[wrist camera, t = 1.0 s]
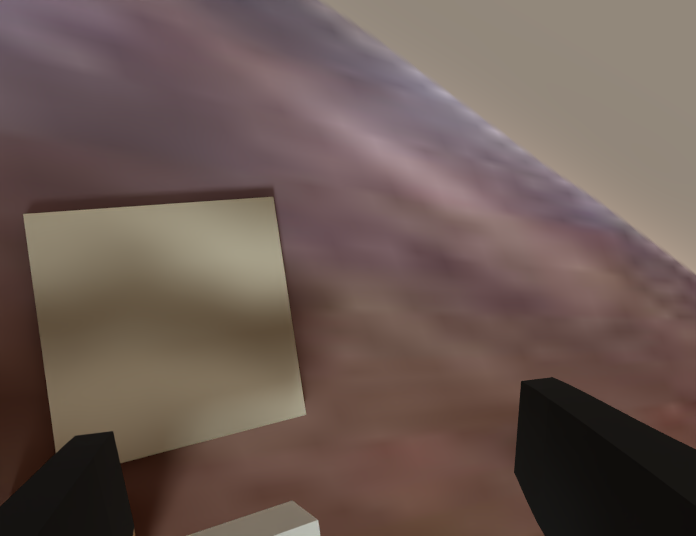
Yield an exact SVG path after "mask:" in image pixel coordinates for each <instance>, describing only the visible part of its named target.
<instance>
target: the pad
mask: <svg viewBox="0 0 696 536" xmlns="http://www.w3.org/2000/svg"><path fill="white" fill-rule="evenodd" d="M23 217H24V224H25V232H26V239H27V246H28V254H29V261H30V268H31V275H32V283H33V290H34V297H35V304H36V312H37V319H38V326H39V334H40V341H41V348H42V355H43V363H44V370H45V377H46V384H47V392H48V399H49V406H50V414H51V421H52V428H53V435H54V443H55V450H56V453H57V452H58V451H59V450H60V449H61V448H62V447H63V446H64V445H65V444H66V443H67V442H69V441H70V440H71V439H72V438H73V437H74V436H76V435H84V434H93V433H101V432H109V431H113V433H114V437H115V442H116V446H117V451H118V455H119V460H120V463H123V462H127V461H131V460H135V459H139V458H143V457H146V456H150V455H154V454H158V453H162V452H165V451H169V450H173V449H177V448H181V447H185V446H188V445H192V444H196V443H200V442H204V441H207V440H211V439H215V438H219V437H223V436H227V435H230V434H234V433H238V432H242V431H246V430H249V429H253V428H257V427H261V426H265V425H269V424H272V423H276V422H280V421H284V420H288V419H291V418H295V417H299V416H303V415H306V411H305V404H304V397H303V391H302V384H301V378H300V371H299V364H298V358H297V351H296V344H295V338H294V331H293V325H292V318H291V311H290V305H289V298H288V291H287V285H286V278H285V271H284V265H283V258H282V252H281V245H280V238H279V232H278V225H277V218H276V212H275V205H274V198H273V197H261V198H247V199H232V200H218V201H203V202H189V203H175V204H160V205H146V206H131V207H117V208H103V209H88V210H74V211H59V212H45V213H30V214H23Z"/></svg>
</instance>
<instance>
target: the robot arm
mask: <svg viewBox="0 0 696 536" xmlns="http://www.w3.org/2000/svg"><path fill="white" fill-rule="evenodd" d="M514 473H515V475H516V477H517V479H518V482H519V484H520V486H521V489H522V491H523V493H524V495H525V498H526V500H527V502H528V504H529V506H530V508H531V511H532V513H533V515H534V517H535V519H536V521H537V523H538V525H539V526H540V528H541V530H542V531H543V533H544V535H545V536H696V449H694V448H692V447H690V446H688V445H686V444H684V443H682V442H679V441H677V440H675V439H673V438H671V437H669V436H667V435H665V434H663V433H661V432H659V431H657V430H656V429H654V428H652V427H650V426H648V425H646V424H644V423H642V422H640V421H638V420H636V419H634V418H632V417H630V416H629V415H627V414H625V413H623V412H621V411H619V410H617V409H615V408H613V407H611V406H610V405H608V404H606V403H604V402H602V401H600V400H598V399H596V398H594V397H592V396H591V395H589V394H587V393H585V392H583V391H581V390H579V389H577V388H575V387H573V386H571V385H569V384H567V383H564V382H562V381H560V380H558V379H555V378H553V377H551V378H543V379H535V380H527V381H521V391H520V404H519V417H518V429H517V442H516V455H515V468H514ZM133 532H134V523H133V518H132V514H131V509H130V505H129V500H128V496H127V491H126V487H125V482H124V478H123V473H122V469H121V464H120V460H119V455H118V451H117V446H116V442H115V437H114V433H113V431H109V432H101V433H93V434H84V435H76V436H74V437H73V438H72V439H71V440H70V441H69V442H67V443H66V444H65V445H64V446H63V447H62V448H61V449H60V450H59V451H58V452H57V453H56V454H55V455H54V456H52V457H51V458H50V459H49V460H48V461H47V462H46V463H45V464H44V465H43V466H42V467H41V468H40V469H39V470H38V471H37V472H36V473H35V474H34V475H33V476H32V477H31V478H30V479H29V480H28V481H27V482H26V483H25V484H24V485H23V486H21V487H20V488H19V489H18V490H17V491H16V492H15V493H14V494H13V495H12V496H11V497H10V498H9V499H8V500H7V501H6V502H5V503H4V504H2V505H1V506H0V536H133Z"/></svg>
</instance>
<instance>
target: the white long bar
mask: <svg viewBox="0 0 696 536" xmlns="http://www.w3.org/2000/svg"><path fill="white" fill-rule="evenodd" d="M188 536H320V530H319V524H318V520H317V519H316V518H315V517H313V516H312V515H311V514H309V513H308V512H307V511H305V510H304V509H303V508H301V507H300V506H299V505H297V504H296V503H295V502H293V501H290V502H287V503H284V504H281V505H278V506H275V507H272V508H269V509H266V510H263V511H260V512H257V513H254V514H251V515H248V516H245V517H242V518H239V519H236V520H233V521H230V522H227V523H224V524H221V525H218V526H215V527H212V528H209V529H206V530H203V531H200V532H197V533H194V534H191V535H188Z"/></svg>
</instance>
